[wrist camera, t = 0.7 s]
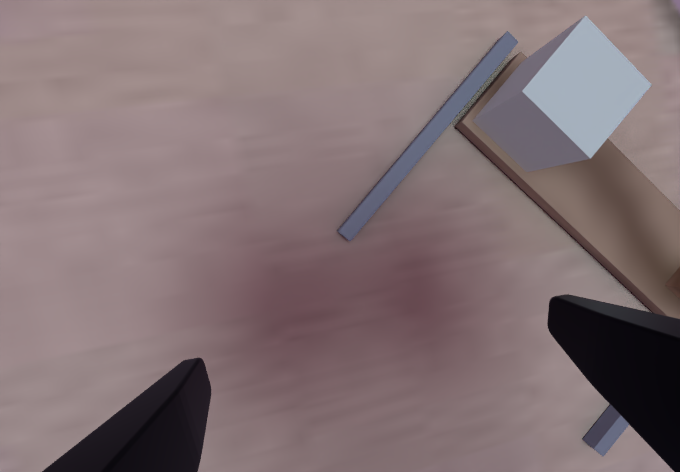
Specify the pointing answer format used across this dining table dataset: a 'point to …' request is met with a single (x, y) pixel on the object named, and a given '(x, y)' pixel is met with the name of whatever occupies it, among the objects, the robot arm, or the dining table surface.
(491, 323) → the dining table surface
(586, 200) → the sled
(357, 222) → the lane rails
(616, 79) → the light blue-gray cube
